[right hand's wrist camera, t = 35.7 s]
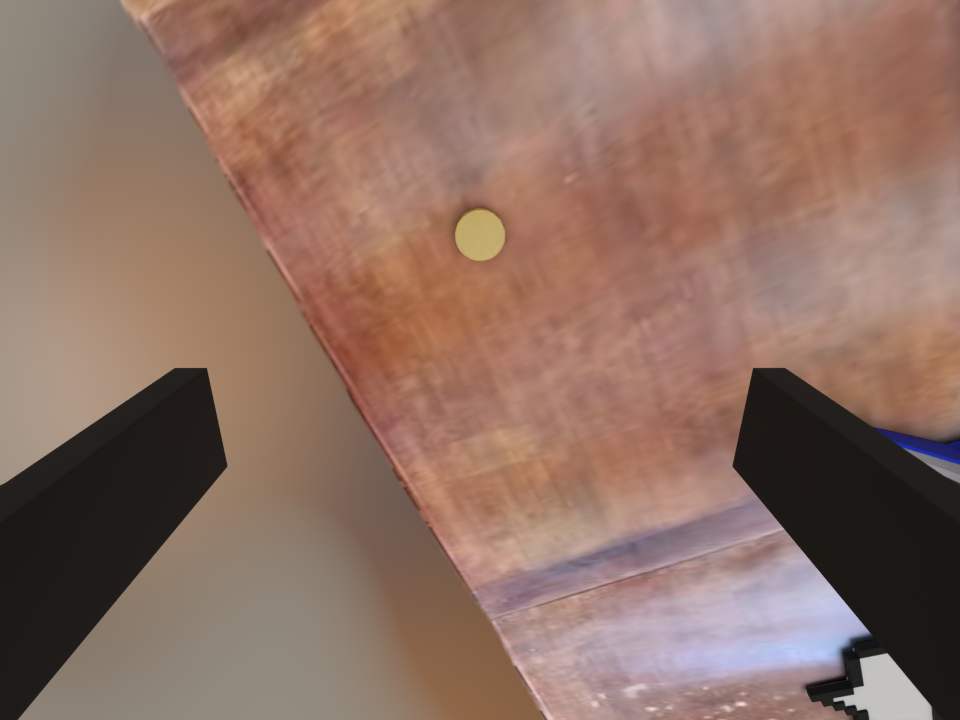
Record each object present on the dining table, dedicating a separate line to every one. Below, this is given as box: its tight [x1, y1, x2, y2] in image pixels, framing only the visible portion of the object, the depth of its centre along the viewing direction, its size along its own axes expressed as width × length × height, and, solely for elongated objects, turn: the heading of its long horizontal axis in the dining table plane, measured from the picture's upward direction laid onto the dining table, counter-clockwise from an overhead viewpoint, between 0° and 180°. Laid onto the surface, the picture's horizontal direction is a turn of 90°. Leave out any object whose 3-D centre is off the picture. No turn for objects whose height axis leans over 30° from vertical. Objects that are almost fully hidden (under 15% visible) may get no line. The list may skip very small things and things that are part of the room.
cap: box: [455, 207, 506, 261], centre depth 44 cm, size 4×4×2 cm
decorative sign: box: [807, 639, 942, 720], centre depth 65 cm, size 22×2×15 cm
